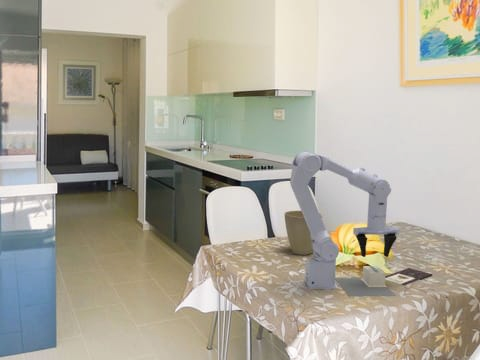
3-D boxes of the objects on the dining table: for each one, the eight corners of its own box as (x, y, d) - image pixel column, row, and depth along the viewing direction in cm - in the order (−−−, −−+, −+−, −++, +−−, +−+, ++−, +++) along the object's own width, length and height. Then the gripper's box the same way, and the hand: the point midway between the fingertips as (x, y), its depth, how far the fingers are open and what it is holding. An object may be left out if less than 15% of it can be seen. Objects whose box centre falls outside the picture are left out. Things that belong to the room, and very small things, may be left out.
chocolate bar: (432, 274, 171) (404, 285, 159) (432, 276, 171) (404, 287, 160) (408, 267, 178) (380, 277, 166) (408, 270, 178) (380, 280, 166)
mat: (348, 297, 149) (348, 296, 148) (333, 279, 165) (333, 277, 165) (396, 297, 150) (396, 295, 150) (376, 278, 167) (376, 277, 167)
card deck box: (362, 279, 165) (363, 266, 164) (377, 279, 165) (377, 265, 164) (369, 286, 158) (370, 272, 157) (384, 286, 158) (385, 272, 157)
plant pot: (327, 255, 194) (329, 215, 192) (296, 259, 188) (297, 218, 186) (306, 246, 208) (308, 209, 205) (276, 249, 201) (277, 211, 199)
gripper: (359, 217, 154) (356, 259, 156) (403, 217, 155) (401, 259, 157) (352, 213, 161) (350, 253, 163) (394, 213, 162) (392, 253, 164)
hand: (374, 256), depth 160 cm, fingers open, 7 cm apart
